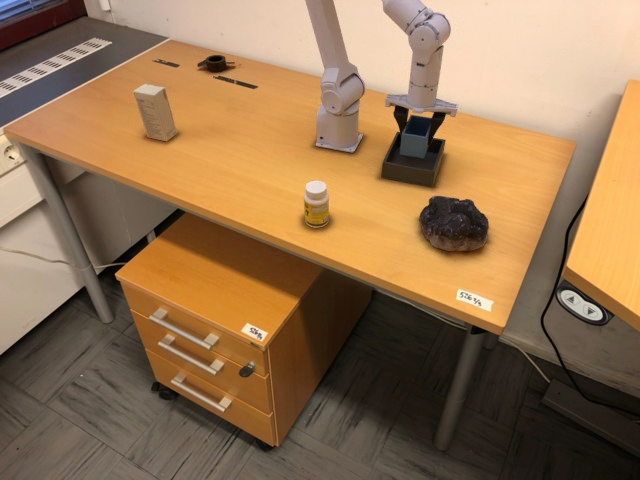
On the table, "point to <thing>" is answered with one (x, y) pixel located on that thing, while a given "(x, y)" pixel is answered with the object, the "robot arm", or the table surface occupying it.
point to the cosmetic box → (155, 112)
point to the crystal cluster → (454, 224)
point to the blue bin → (415, 136)
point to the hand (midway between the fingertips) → (416, 140)
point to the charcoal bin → (413, 163)
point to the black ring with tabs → (215, 63)
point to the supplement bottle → (316, 204)
